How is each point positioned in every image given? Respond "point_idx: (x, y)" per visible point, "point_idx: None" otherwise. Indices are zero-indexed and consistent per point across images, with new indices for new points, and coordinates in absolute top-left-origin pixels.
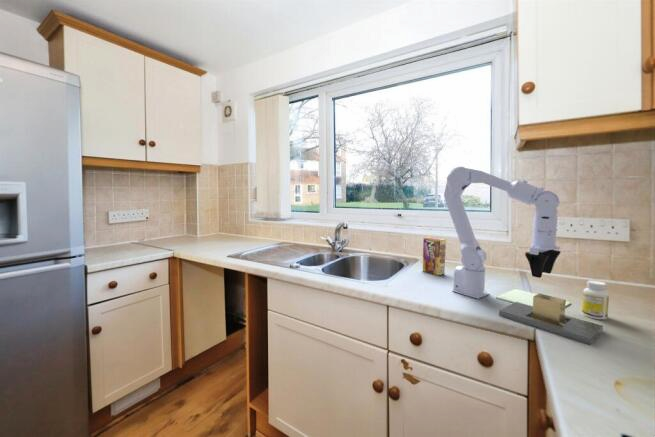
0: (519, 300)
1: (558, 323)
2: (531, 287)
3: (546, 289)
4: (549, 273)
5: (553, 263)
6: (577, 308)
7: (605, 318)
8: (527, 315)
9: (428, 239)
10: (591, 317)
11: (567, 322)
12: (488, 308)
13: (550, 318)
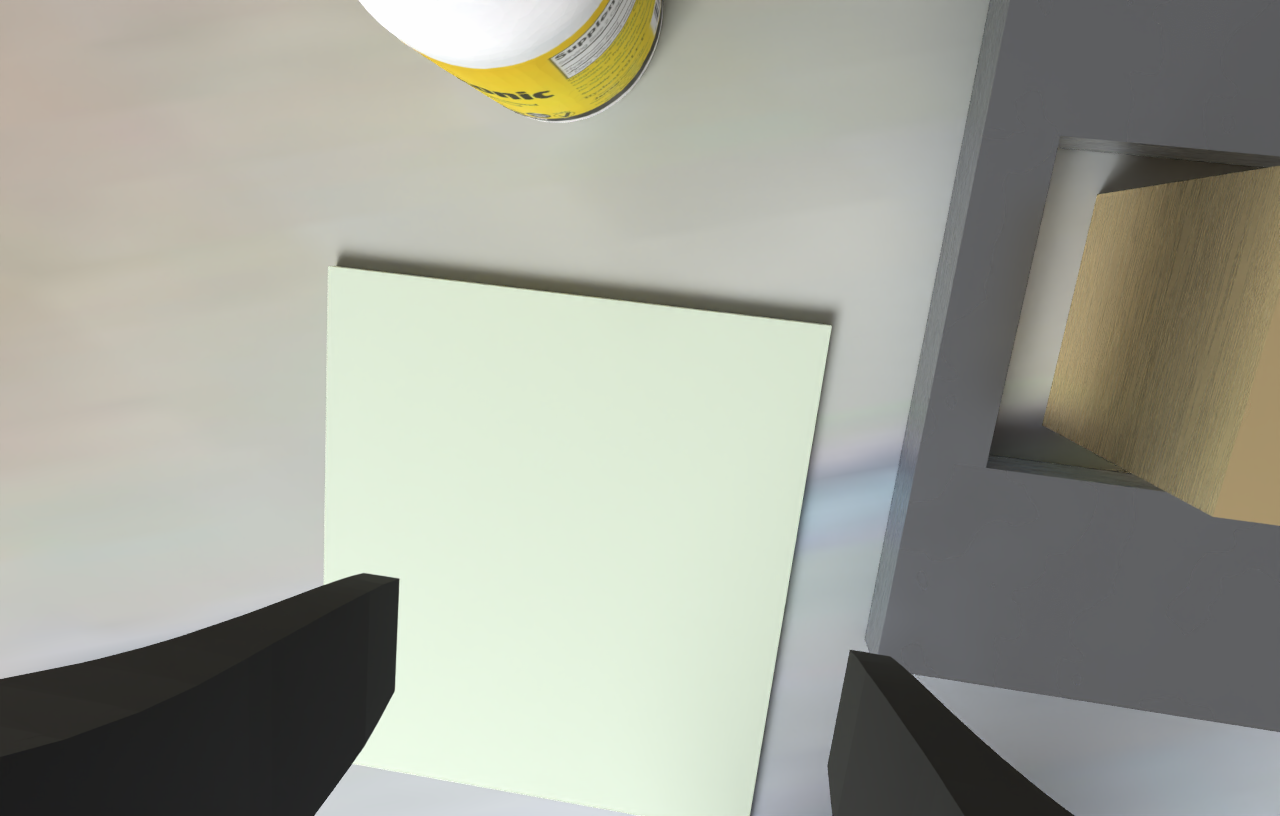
0: (682, 652)
1: None
2: (103, 649)
3: (44, 529)
4: (398, 583)
5: (233, 648)
6: (439, 186)
7: None
8: None
9: None
10: (661, 22)
11: (1209, 146)
12: (1123, 811)
13: None
